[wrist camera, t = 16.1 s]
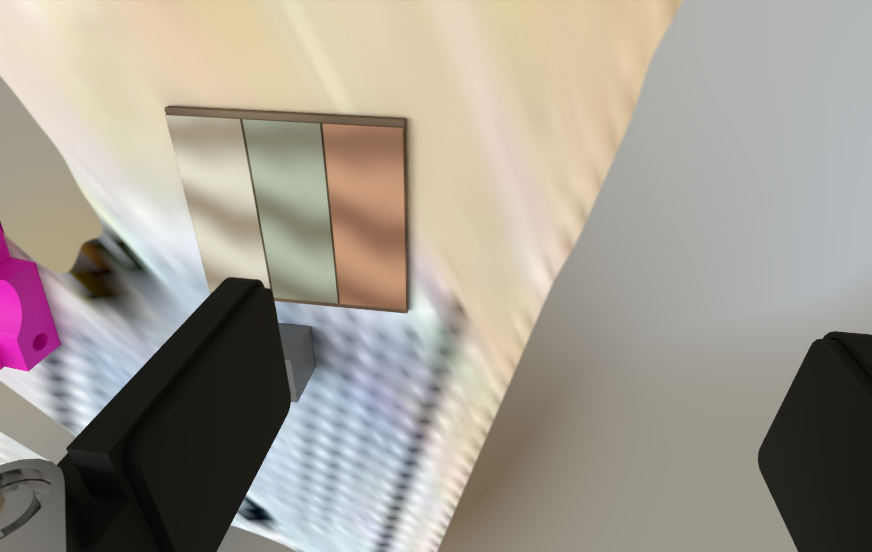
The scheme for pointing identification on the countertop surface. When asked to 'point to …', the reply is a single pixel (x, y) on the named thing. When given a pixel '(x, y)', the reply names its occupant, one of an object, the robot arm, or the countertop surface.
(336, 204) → the striped panel
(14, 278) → the toy block
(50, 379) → the countertop surface
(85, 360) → the countertop surface
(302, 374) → the die
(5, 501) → the robot arm
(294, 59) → the countertop surface
